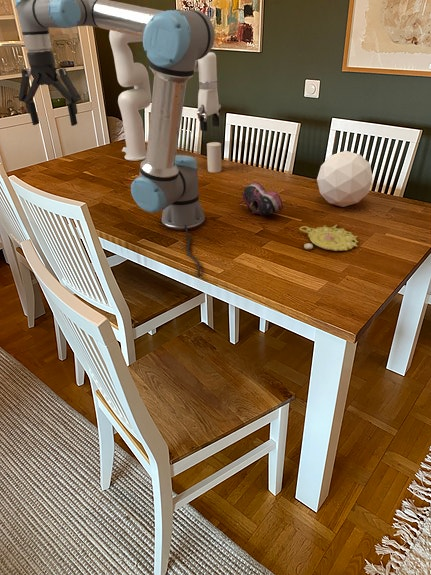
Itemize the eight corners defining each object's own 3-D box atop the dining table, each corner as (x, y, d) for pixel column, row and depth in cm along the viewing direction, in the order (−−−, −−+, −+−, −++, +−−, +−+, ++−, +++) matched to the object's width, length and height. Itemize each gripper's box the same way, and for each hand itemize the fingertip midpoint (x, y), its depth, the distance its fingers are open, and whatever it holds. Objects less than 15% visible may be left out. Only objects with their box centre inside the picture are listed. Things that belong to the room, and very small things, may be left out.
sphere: (348, 225, 166) (362, 196, 147) (303, 198, 170) (311, 167, 152) (373, 189, 171) (391, 157, 152) (328, 164, 175) (340, 130, 156)
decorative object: (343, 255, 128) (285, 234, 139) (342, 262, 130) (284, 241, 140) (372, 230, 142) (317, 213, 152) (371, 237, 143) (316, 219, 153)
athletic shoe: (254, 181, 170) (227, 189, 167) (283, 176, 151) (253, 185, 147) (260, 210, 173) (234, 218, 170) (290, 209, 154) (261, 219, 150)
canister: (208, 168, 207) (207, 142, 200) (222, 168, 206) (221, 142, 200) (207, 172, 202) (206, 145, 195) (220, 172, 201) (220, 145, 195)
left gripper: (211, 82, 192) (213, 123, 202) (189, 88, 180) (191, 131, 189) (226, 83, 189) (227, 125, 198) (204, 89, 177) (206, 133, 186)
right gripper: (83, 49, 133) (95, 122, 145) (9, 50, 138) (26, 121, 149) (72, 51, 127) (85, 127, 139) (-6, 52, 132) (14, 126, 143)
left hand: (209, 128), depth 194 cm, fingers open, 9 cm apart
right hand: (55, 124), depth 144 cm, fingers open, 13 cm apart
